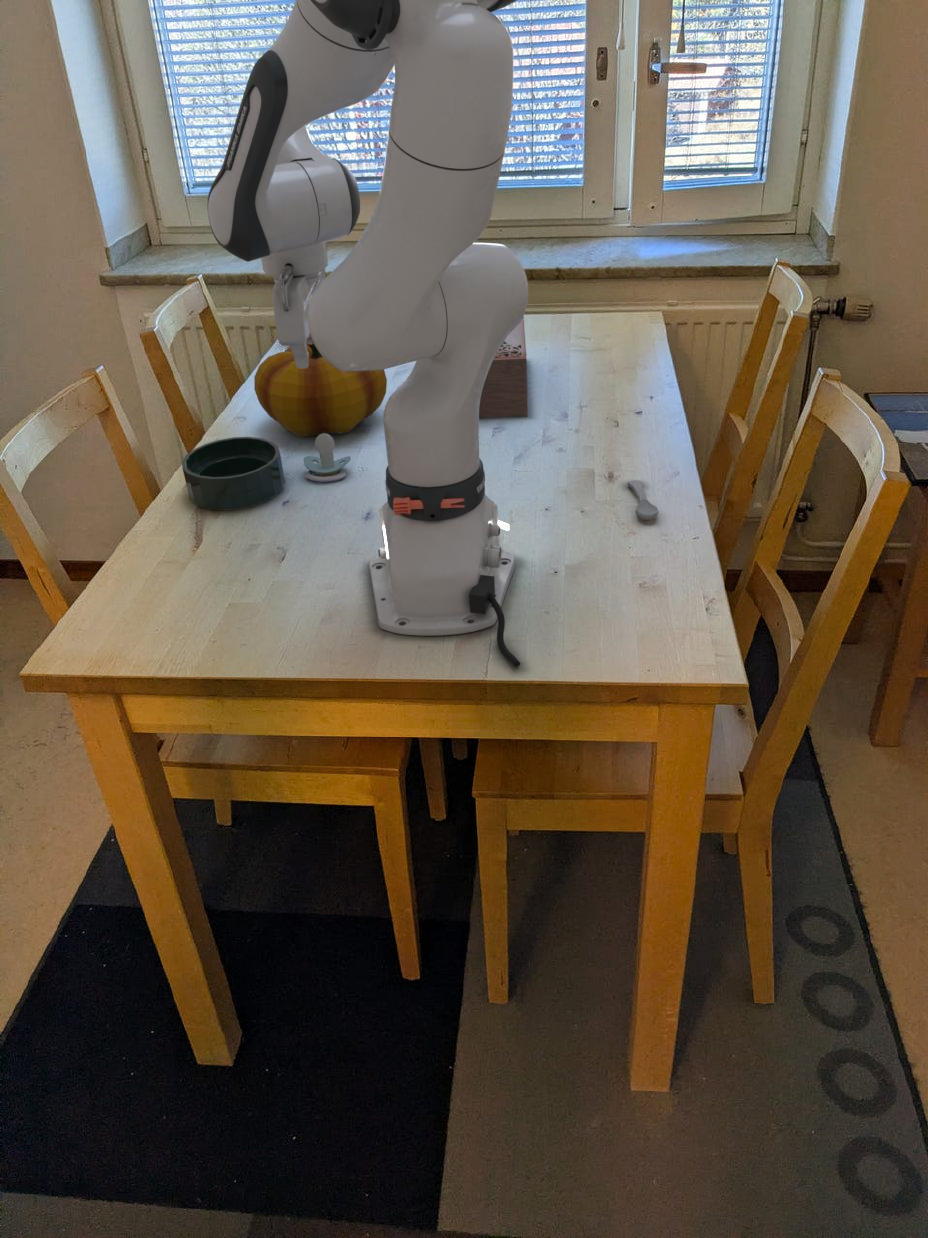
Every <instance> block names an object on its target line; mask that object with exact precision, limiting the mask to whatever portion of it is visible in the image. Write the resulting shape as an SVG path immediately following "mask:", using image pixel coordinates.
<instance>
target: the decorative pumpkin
mask: <svg viewBox="0 0 928 1238" xmlns="http://www.w3.org/2000/svg"><path fill="white" fill-rule="evenodd" d="M306 347H307V352H309V359H310V363H309V366H308V368H306V369H298V368H297V367H296V365H295V359H294V356H293V353H292V351H291V349H290V346H287V348H286V349H285V350H284V351H280V352H277V353H274V354H271V355H269V356H267V358H265V359H264V360H263V361H262V362H261V363H260V364H259V365H258V367H257V370H256V372H255V374H254V379H253V380H254V382H253V383H254V385H253V386H254V392H255V395H256V398H257V400H258V402H259V405H260V406H261V408H262V410H263V411H265V413H266V414H267V415H268V416H269V418H271V419H273V420H275V421H276V422H277V423H279V425H281V426H282V427H283V428H284V429H286V430H288V431H290V432H291V433H293V434H295V435H296V436H298V437H309V436H311V437H312V436H318V435H320V434H323V433H325V434H333V435H335V434H337V435H338V434H340V435H341V434H347V433H348V432H350V431H351V430H353V429H354V428H356V427H357V426H358V424H360V422H361V421H364V420H366V419H368V418H369V417H370V416H372V415H373V414H374V413H375V412H376V411H377V410H378V409H379V408H380V406H381V405H382V404H383V401H384V399H385V396H386V394H387V386H388V378H387V376H386V371H385V369H383V370H370V371H340V370H338V369H337V368H335V367H333V366H332V365H331V364H330V363H329V362H327V361H326V360H325V359H324V357H323V356H322V355H321V354H320V353H319V351H318V350H317V348H316V346H315V345H314V344H312V345H309V344H307V343H306Z"/></svg>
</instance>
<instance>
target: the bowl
mask: <svg viewBox="0 0 928 1238" xmlns="http://www.w3.org/2000/svg"><path fill="white" fill-rule="evenodd" d="M181 467H182V472H183V477H184V480H185V485H186V490H187V493H188V497H189V500H190V501H191V502H192V503H193V504H194V505H195V506H199V507H201V508H204V509H209V510H215V511H229V510H232V511H233V510H239V509H243V508H249V507H252V506H256V505H258V504H261V503H265V502H267V501H269V500H270V499H272V498H273V497H274V498H275V496H277V495H278V494H279V493H280V492H281V491H283V488H284V486H285V483H286V478H285V473H284V467H283V462H282V455H281V451H280V448H279V446H278V445H277V444H276V443H275V442H274V441H272V440H269V439H267V438H262V437H255V436H234V437H227V438H221V439H217V440H214V441H210V442H206V443H204V444H202V445H200V446H198V447H195V448H194V449H192V450H191V451H190V452H188V453H187V454H186V455H185V456H184V458H183V459H182V461H181Z"/></svg>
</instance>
